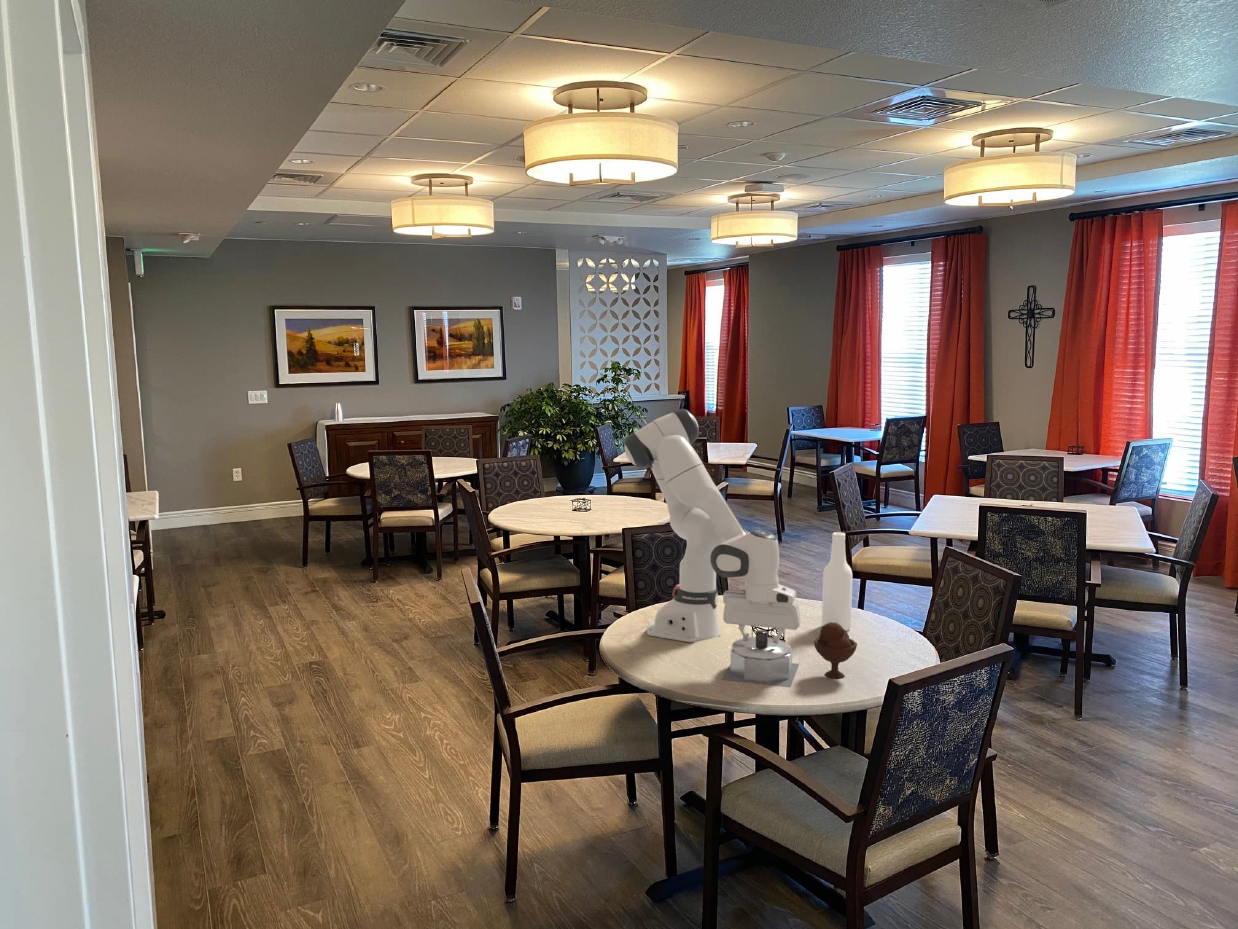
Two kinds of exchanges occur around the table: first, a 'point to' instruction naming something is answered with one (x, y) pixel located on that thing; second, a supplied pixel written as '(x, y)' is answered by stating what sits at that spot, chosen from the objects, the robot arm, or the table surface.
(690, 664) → the table surface
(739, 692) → the table surface
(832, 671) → the ice cream bowl
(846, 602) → the alcohol
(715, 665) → the table surface
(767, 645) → the cover
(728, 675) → the mat
